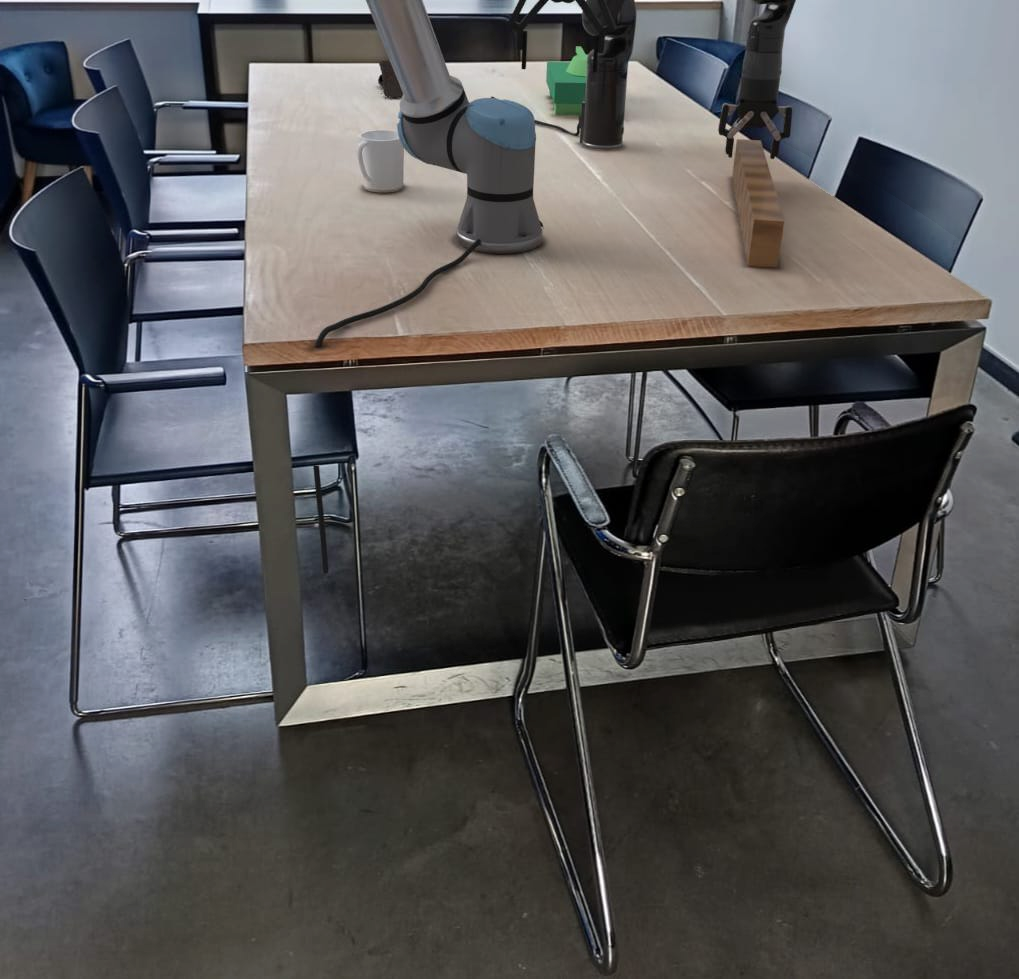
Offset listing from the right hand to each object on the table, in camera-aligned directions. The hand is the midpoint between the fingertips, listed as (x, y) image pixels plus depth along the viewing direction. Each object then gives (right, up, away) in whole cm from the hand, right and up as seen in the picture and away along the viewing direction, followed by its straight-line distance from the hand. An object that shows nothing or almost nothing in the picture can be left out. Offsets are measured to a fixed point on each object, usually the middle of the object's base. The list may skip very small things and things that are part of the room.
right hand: (750, 157), depth 224 cm
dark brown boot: (-79, +41, +76) cm, 117 cm away
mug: (-76, -7, -3) cm, 76 cm away
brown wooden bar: (-3, -16, -14) cm, 22 cm away
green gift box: (-30, +35, +67) cm, 82 cm away
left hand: (-40, +13, -14) cm, 44 cm away
